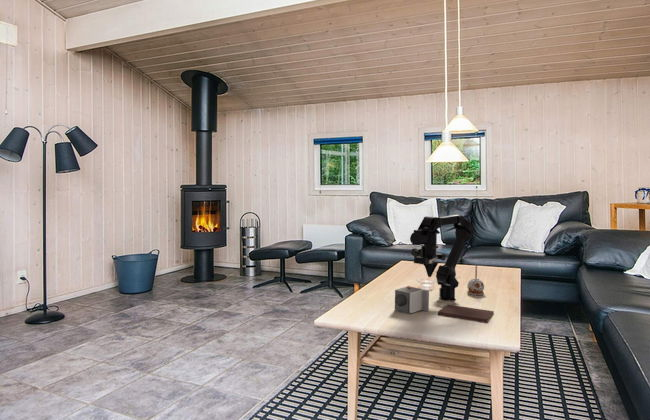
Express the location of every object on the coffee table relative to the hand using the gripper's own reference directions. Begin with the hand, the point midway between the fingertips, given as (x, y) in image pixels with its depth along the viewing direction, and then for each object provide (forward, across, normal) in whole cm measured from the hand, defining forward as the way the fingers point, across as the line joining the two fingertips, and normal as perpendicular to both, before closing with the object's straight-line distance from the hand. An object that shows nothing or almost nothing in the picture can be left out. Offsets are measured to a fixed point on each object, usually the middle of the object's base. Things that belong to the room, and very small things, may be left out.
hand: (429, 276), depth 200 cm
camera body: (+12, +17, 0) cm, 21 cm away
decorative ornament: (+12, -31, +8) cm, 35 cm away
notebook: (+13, +5, +21) cm, 25 cm away
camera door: (+12, +17, +6) cm, 21 cm away
